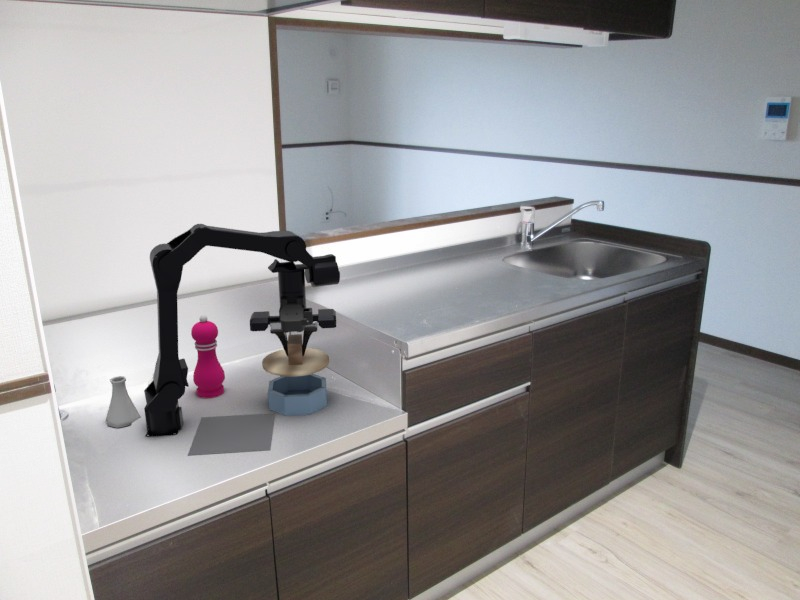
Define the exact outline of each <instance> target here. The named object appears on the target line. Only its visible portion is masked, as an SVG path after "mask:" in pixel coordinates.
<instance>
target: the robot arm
mask: <svg viewBox="0 0 800 600" xmlns="http://www.w3.org/2000/svg"><path fill="white" fill-rule="evenodd" d="M207 246H208V247H215V248H223V249H232V250H238V251H239V250H241V251H249V252H257V253H263V254H266V255H268V256H271V257H272V258H273V257H274V260H273V262H272V263H271V264H270V265H268V266H267V269H268V271H270V272H271V273H273V274H276V273H277V278H278V292H279V293H278V297H279V309H278V315H270V314H271V313H270V311H253V313H252V314H251V315H250V318H249V331H250V332H265V331H266V330H267V329H268V328H270V330H269V331H270V334H272V335H275V336H276V337H278V339H279V341H280V343H281V345H282V348H283V349H284V350H285V353H286V355H287V357H288V335H287V334H288V333H294V332H297V333H301V332H303V334H302V356H304V354H305V351H306V348H308V347H307V346H308V344H309V341H310V338H311V336H312V335H313V333H316V332H318V326H319V327H320V328H321V329H335V328H337V314H336V313H337V312H336V310H335V309H333V308H321V309H318V310H317V312H318V313H317V314H315V313H313V308H312V307H307V295H306V294H307V293H306V283H307V284H310V285H311V287H312V288H317V287H318V288H319V287H326V286H332V285H333V286H335V285H338V284H340V280H341V272H340V270H339V266H338V265H339V264H338V262H337V257H336V255H334V254H332V253H331V254H329V253H328V254H325V255H318V256H313V255H312V254H310V253H309V252H308V250H307V245H306V242H305V241H304V239H303V238H302V237H301V236H299V235H297V233H295V232H293V231H290V230H272V231H267V232H256V231H249V230H242V229H235V228H227V227H222V226H221V227H218V226H214V225H213V226H212V225H206V224H204V223H196V224H194V225H192V226H191V228H189V229H188V230H187V231H184V232H183V233H181V234H179V235H177V236H175V237H174V238H172V239H171V240H169V241H168V242H166V243H160V244H158V245H155V246H154V247H153V248H152V249H151V250H150V253H149V261H150V267H151V270H152V275H153V279H154V282H155V283H154V284H155V286H156V288H155V289H156V298H157V299H156V303H157V309H156V310H157V333H158V334H157V339H158V343H157V344H158V355H157V358H156V362H155V365H154V370H153V371H154V372H153V373H154V377H153V376H152V377H153V381H152V382H151V383H150V384H149V386H148V385H147V387H146V388H145V389H144V390H143V391H144V397H145V402H146V404H145V406H144V416H145V423H146V433H145V438H152V437H167V436H170V437H171V436H177V435H178V434H179V432H180V430H182V428H183V425H184V417H183V416H184V415H183V409H182V406H180V405H179V400H180V399H181V398H182V397H183V396H184V395H185V393H186V387H190V385H189V382H188V374H189V367H188V364H187V362H186V359H185V358H179V322H178V319H179V316H178V291H179V288H180V285H181V281H182V275H183V270H184V265H186V264H187V263H189V262H190V261H192V259H193V258H194V257H195V256H196V255H197V254H198V253H199V252H200V251H201V250H203V249H204V248H206V247H207ZM276 258H277V259H276ZM278 259H280V260H284V261H282V262H280V261H279V260H278ZM297 262H299V263H300V264H295V263H297Z"/></svg>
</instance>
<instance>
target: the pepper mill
mask: <svg viewBox="0 0 800 600" xmlns="http://www.w3.org/2000/svg"><path fill="white" fill-rule="evenodd" d="M190 335H191V337H192V339H193V341H194V349H195V350H196V351H197V361H196V364H195V368H194V370H193V371H194V372H193V377H192V378H193V379H192V380H193V384H194V385H195V386H196V396H197V397H199V398H202V399H212V398H216V397H220V396H222V394H224V392H225V388H224V387H225V386H224V384H223V383H224V381H225V379H226V375H225V370H224V368H223V366H222V365H221V363H220V361H219V359H218V356H217V351H216V350H217V349H216V348H217V347H218V343H217V342H218V341H217V338H218V336H219V329H218V326H217V325H216V324H215V322H213V321H210V320H208V316H207V315H205V314H202V315H200V317H199V321H198V322H196V323H194V324H193V325H192V328H191V334H190Z"/></svg>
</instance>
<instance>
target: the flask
mask: <svg viewBox="0 0 800 600" xmlns="http://www.w3.org/2000/svg"><path fill="white" fill-rule="evenodd" d="M109 381H110V384H111V387H112V389H111V398H110V403H109V406H108V410H107V413H106V418H105V422H106V425H107V426H108V427H113V428H118V429H119V428H124V427H127V426H131V425H132V424H133V423H134V422H136V421H137V420H139V419H140V418H142V417H141V414H140V413H139V411H138V409H137V408H136V406H135V404H134V402H133V400H132V398H131V397H130V395H129V393H128V392H129V391H128V390H127V387H126V385H127V384H126V381H127V378H126V376H124V375H123V376H122V375H118V376H114V377H111V378H109Z"/></svg>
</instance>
